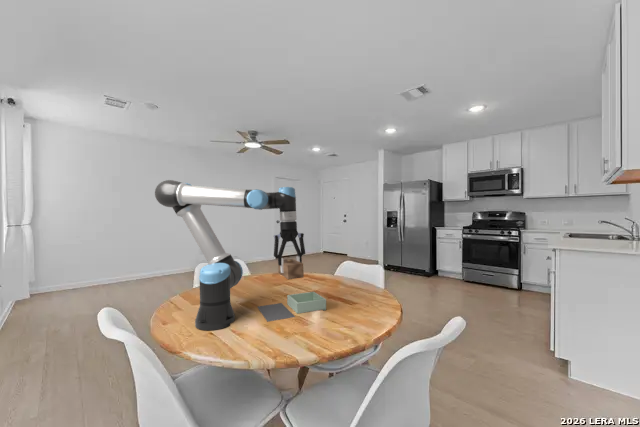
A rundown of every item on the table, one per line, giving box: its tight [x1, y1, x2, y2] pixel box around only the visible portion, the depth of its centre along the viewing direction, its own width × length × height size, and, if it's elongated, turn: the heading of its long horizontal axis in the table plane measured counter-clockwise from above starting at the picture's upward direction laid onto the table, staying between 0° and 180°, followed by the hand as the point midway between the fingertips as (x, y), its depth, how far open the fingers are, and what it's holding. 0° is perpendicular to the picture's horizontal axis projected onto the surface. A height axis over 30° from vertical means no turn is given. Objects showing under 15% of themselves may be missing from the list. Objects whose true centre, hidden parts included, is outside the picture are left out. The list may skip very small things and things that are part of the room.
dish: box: [286, 291, 327, 315], centre depth 129 cm, size 14×14×5 cm
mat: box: [256, 302, 296, 323], centre depth 122 cm, size 12×20×1 cm, turn 25°
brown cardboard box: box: [277, 258, 305, 280], centre depth 125 cm, size 7×16×7 cm, turn 23°
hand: (290, 271), depth 125 cm, fingers closed on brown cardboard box, 7 cm apart
